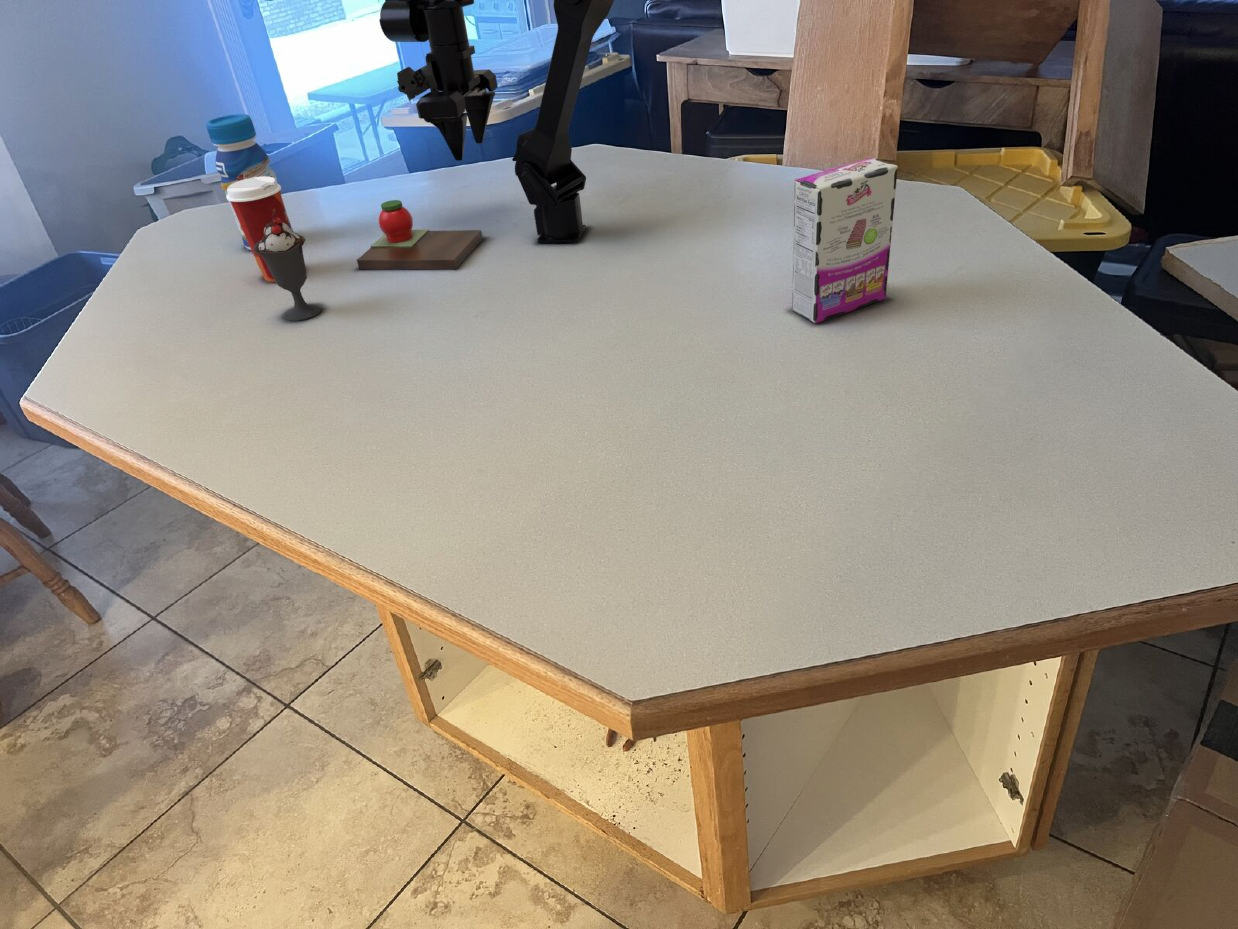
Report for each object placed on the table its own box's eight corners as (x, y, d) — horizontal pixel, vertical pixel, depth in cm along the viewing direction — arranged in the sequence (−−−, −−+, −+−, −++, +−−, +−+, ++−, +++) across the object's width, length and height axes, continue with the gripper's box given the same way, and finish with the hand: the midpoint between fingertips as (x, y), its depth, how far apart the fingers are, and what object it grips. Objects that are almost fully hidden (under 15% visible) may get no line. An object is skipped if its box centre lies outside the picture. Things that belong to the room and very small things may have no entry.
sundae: (313, 324, 111) (276, 215, 102) (269, 323, 112) (229, 215, 104) (336, 302, 116) (303, 197, 107) (294, 302, 118) (257, 198, 109)
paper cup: (318, 266, 128) (289, 176, 120) (283, 287, 123) (250, 193, 114) (281, 262, 131) (250, 173, 123) (245, 282, 126) (210, 190, 117)
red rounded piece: (421, 231, 132) (413, 197, 129) (408, 243, 128) (399, 208, 125) (391, 231, 133) (383, 198, 130) (377, 244, 129) (368, 209, 126)
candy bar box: (859, 286, 105) (871, 155, 96) (886, 300, 102) (901, 164, 92) (788, 310, 102) (792, 176, 92) (814, 325, 98) (821, 187, 88)
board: (483, 238, 132) (481, 228, 131) (456, 269, 122) (453, 258, 121) (391, 239, 135) (389, 229, 134) (358, 269, 126) (355, 258, 125)
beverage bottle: (292, 230, 144) (252, 108, 132) (299, 244, 137) (258, 118, 125) (242, 241, 141) (197, 118, 129) (247, 256, 135) (199, 129, 123)
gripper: (423, 33, 130) (444, 136, 139) (371, 58, 115) (398, 171, 124) (489, 29, 127) (506, 134, 136) (444, 53, 113) (467, 169, 122)
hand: (469, 151), depth 130 cm, fingers open, 9 cm apart
